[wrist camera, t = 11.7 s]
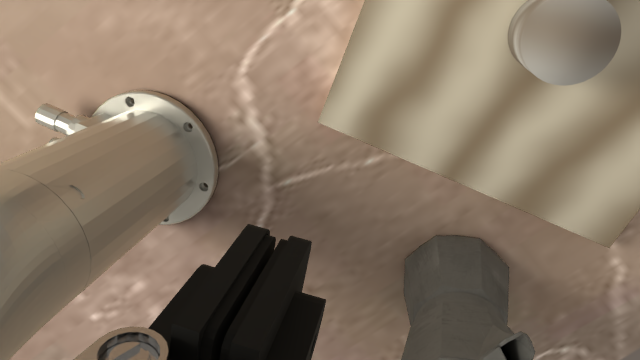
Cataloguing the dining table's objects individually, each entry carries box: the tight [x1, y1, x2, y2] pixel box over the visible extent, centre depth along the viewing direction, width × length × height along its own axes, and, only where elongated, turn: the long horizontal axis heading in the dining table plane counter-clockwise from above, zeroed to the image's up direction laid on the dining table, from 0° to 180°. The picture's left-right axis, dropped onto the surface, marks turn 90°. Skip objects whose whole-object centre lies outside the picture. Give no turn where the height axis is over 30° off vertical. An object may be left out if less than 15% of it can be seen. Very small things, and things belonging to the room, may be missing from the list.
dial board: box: [318, 0, 640, 248], centre depth 32 cm, size 24×24×2 cm
